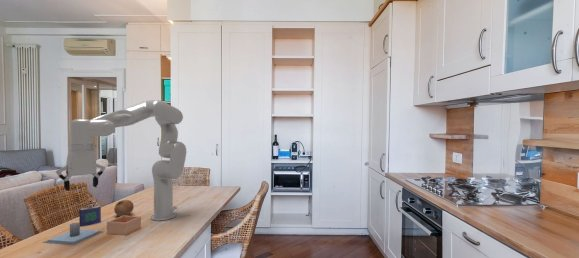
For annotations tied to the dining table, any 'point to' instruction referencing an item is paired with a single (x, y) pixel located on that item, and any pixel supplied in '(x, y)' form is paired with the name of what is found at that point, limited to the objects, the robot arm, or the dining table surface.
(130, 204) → the coconut
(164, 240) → the dining table surface
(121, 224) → the open cube shelf
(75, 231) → the lid
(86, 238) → the mat
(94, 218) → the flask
